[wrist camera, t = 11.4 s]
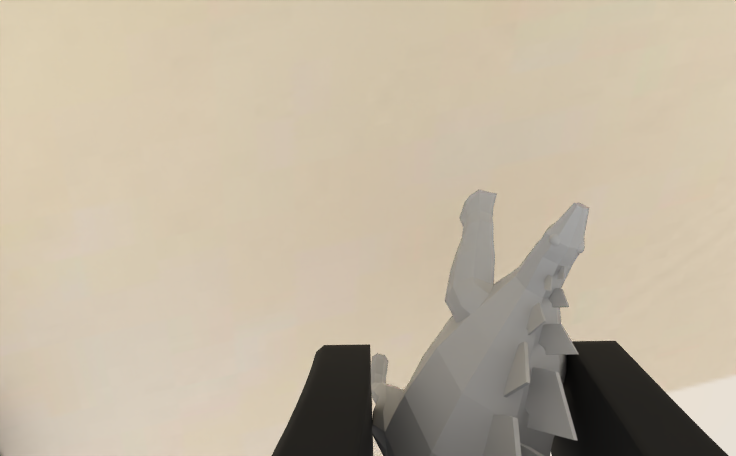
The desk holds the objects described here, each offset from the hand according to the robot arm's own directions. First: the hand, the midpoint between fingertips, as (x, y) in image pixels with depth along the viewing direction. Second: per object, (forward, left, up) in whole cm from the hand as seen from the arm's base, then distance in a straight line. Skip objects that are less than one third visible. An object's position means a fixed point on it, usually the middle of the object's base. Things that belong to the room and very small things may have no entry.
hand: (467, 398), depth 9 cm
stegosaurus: (0, 0, -2) cm, 2 cm away
